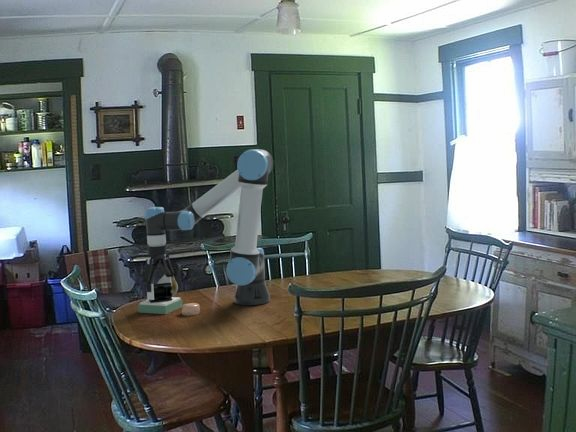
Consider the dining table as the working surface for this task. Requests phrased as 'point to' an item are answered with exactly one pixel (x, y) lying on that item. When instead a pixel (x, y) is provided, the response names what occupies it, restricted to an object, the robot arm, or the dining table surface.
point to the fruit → (174, 284)
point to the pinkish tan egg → (190, 309)
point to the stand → (160, 306)
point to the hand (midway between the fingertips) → (160, 296)
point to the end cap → (162, 292)
